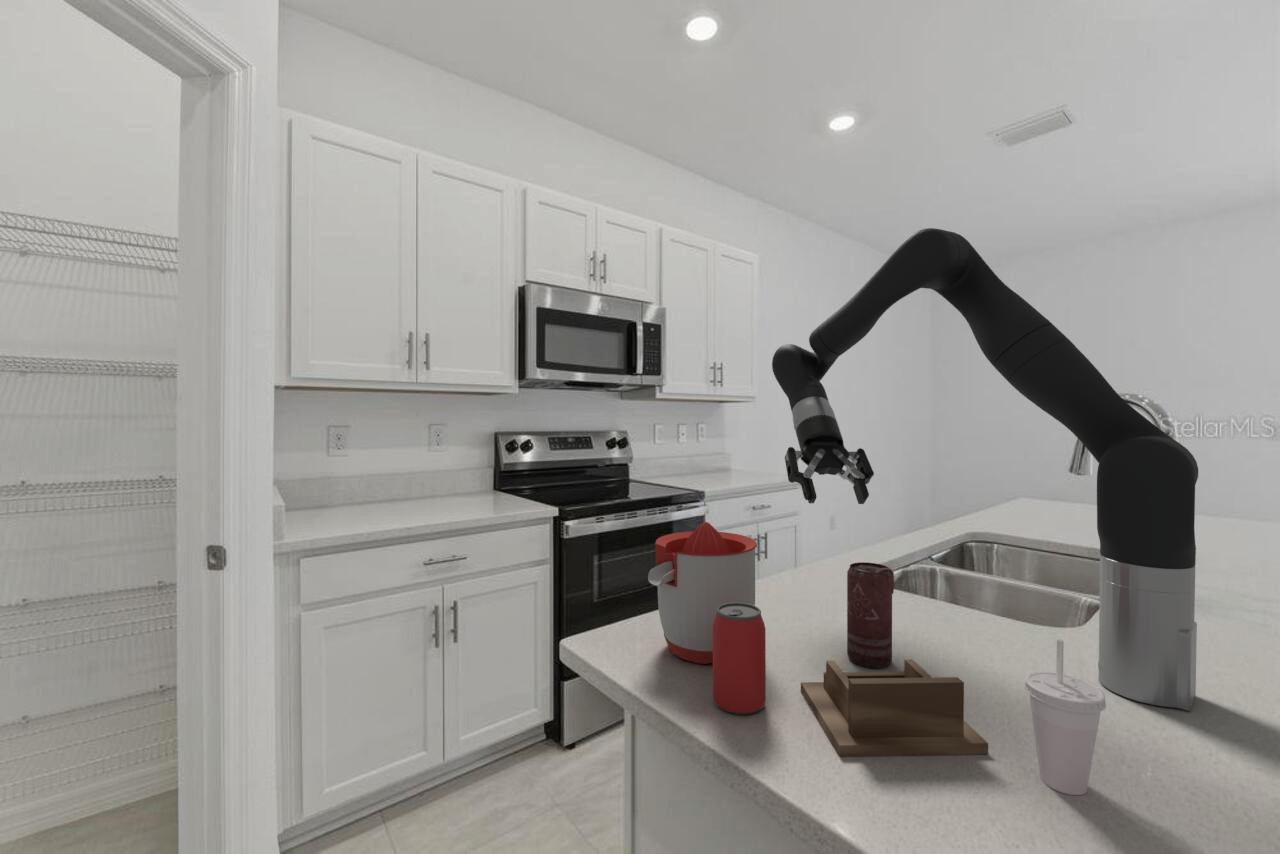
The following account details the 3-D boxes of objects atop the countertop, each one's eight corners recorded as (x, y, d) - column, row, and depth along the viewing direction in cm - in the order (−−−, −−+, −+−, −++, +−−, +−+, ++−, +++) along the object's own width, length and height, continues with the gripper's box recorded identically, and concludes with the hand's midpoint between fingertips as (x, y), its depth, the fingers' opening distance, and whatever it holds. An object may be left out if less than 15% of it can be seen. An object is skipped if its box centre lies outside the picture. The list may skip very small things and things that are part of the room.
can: (898, 671, 80) (898, 573, 79) (851, 667, 81) (851, 571, 81) (888, 653, 86) (888, 562, 85) (844, 650, 87) (844, 560, 86)
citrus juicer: (629, 643, 90) (627, 519, 90) (718, 623, 98) (717, 509, 98) (679, 685, 76) (678, 538, 76) (779, 658, 84) (778, 525, 84)
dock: (800, 691, 74) (800, 637, 74) (921, 689, 74) (921, 635, 74) (839, 756, 60) (839, 690, 60) (988, 754, 60) (988, 687, 60)
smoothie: (1068, 761, 59) (1070, 629, 59) (1123, 804, 53) (1125, 656, 52) (1009, 763, 59) (1010, 630, 58) (1056, 806, 52) (1058, 657, 52)
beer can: (702, 703, 71) (701, 609, 71) (733, 685, 76) (732, 597, 76) (745, 723, 67) (745, 623, 66) (775, 703, 71) (775, 609, 71)
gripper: (783, 412, 101) (802, 488, 90) (860, 414, 102) (888, 489, 91) (773, 439, 106) (790, 513, 96) (847, 440, 107) (871, 513, 97)
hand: (838, 501), depth 93 cm, fingers open, 8 cm apart
